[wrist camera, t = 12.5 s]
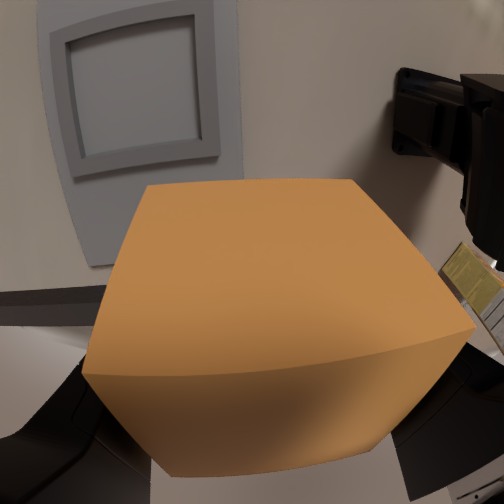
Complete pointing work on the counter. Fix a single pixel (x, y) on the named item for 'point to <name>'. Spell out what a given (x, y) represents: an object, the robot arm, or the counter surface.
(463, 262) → the candy box
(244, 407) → the orange cube
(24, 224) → the counter surface
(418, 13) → the counter surface
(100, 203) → the socket plate
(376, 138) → the counter surface
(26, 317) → the black knob lever
